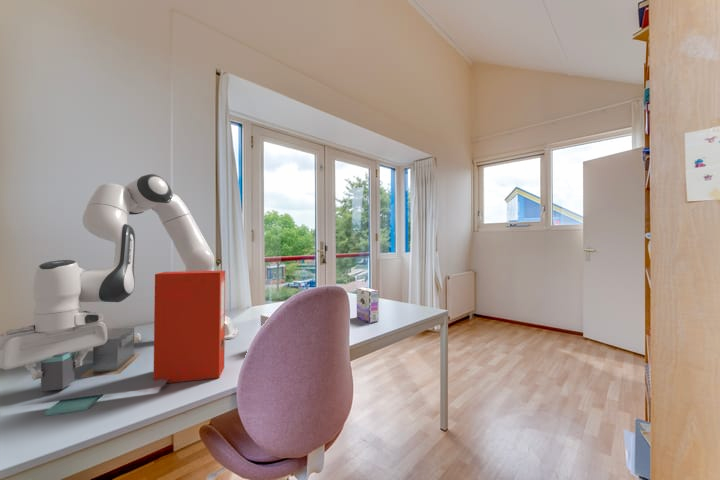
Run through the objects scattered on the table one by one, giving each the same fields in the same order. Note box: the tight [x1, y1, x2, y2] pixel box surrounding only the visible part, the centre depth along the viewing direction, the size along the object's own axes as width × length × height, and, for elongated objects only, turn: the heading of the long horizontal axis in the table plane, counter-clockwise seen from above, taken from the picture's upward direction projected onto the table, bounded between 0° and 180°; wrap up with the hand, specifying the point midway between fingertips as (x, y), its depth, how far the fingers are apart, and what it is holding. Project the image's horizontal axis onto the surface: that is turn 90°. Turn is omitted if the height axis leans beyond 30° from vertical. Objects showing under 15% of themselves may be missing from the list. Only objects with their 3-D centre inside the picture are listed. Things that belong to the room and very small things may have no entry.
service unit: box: [92, 326, 135, 374], centre depth 92 cm, size 7×12×10 cm, turn 19°
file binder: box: [153, 270, 226, 384], centre depth 88 cm, size 8×17×32 cm, turn 105°
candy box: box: [356, 286, 380, 324], centre depth 153 cm, size 14×6×16 cm, turn 30°
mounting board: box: [78, 353, 142, 379], centre depth 92 cm, size 10×16×2 cm, turn 19°
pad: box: [44, 393, 104, 416], centre depth 73 cm, size 8×8×1 cm
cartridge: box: [40, 352, 76, 392], centre depth 77 cm, size 5×5×9 cm
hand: (58, 372), depth 77 cm, fingers closed on cartridge, 6 cm apart
